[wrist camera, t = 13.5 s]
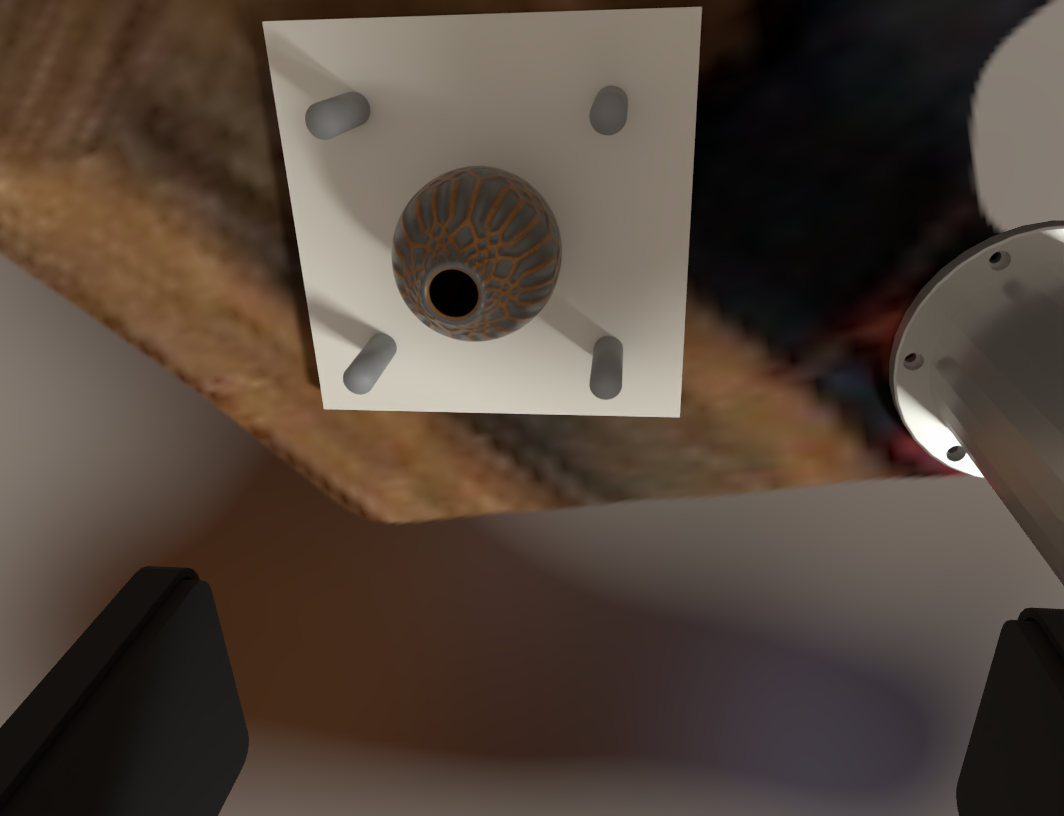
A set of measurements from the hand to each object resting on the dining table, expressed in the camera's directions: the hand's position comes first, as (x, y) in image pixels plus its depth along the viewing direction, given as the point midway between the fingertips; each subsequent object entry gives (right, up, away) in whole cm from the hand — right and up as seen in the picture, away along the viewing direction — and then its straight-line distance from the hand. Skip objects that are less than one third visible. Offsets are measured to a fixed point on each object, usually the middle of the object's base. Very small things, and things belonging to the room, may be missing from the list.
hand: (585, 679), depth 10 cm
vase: (-2, +11, +27) cm, 30 cm away
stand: (-2, +12, +28) cm, 31 cm away
